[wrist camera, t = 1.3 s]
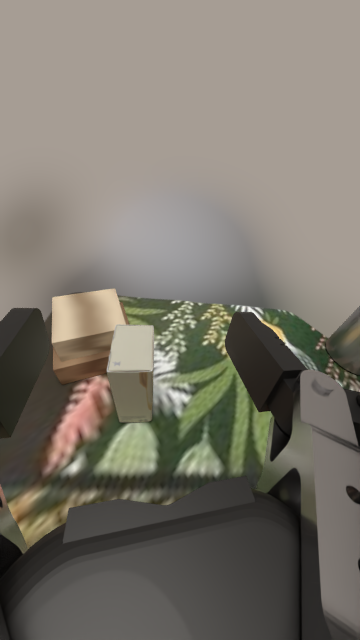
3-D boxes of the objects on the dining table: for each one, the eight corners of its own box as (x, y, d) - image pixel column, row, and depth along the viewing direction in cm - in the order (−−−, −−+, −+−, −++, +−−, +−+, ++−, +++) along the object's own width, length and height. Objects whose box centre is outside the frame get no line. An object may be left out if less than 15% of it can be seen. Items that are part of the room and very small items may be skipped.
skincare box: (152, 422, 28) (153, 374, 19) (118, 423, 27) (104, 375, 18) (153, 378, 32) (154, 323, 24) (124, 378, 32) (115, 322, 23)
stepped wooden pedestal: (123, 318, 40) (120, 284, 35) (138, 364, 34) (135, 331, 28) (60, 330, 37) (45, 294, 31) (62, 385, 30) (42, 351, 24)
